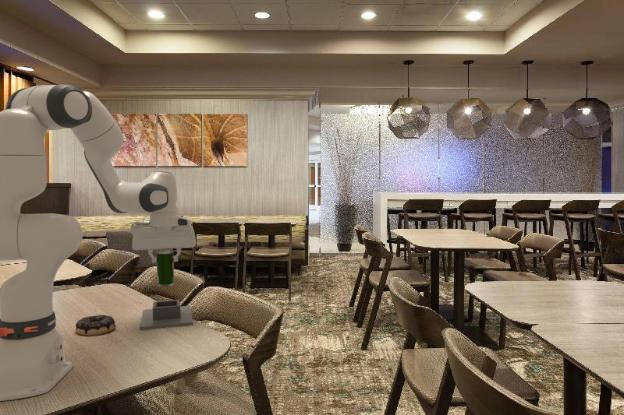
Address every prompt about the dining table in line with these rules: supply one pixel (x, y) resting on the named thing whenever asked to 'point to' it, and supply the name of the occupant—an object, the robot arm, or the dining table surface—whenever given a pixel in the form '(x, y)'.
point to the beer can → (165, 267)
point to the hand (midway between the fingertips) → (165, 262)
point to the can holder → (166, 315)
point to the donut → (95, 325)
